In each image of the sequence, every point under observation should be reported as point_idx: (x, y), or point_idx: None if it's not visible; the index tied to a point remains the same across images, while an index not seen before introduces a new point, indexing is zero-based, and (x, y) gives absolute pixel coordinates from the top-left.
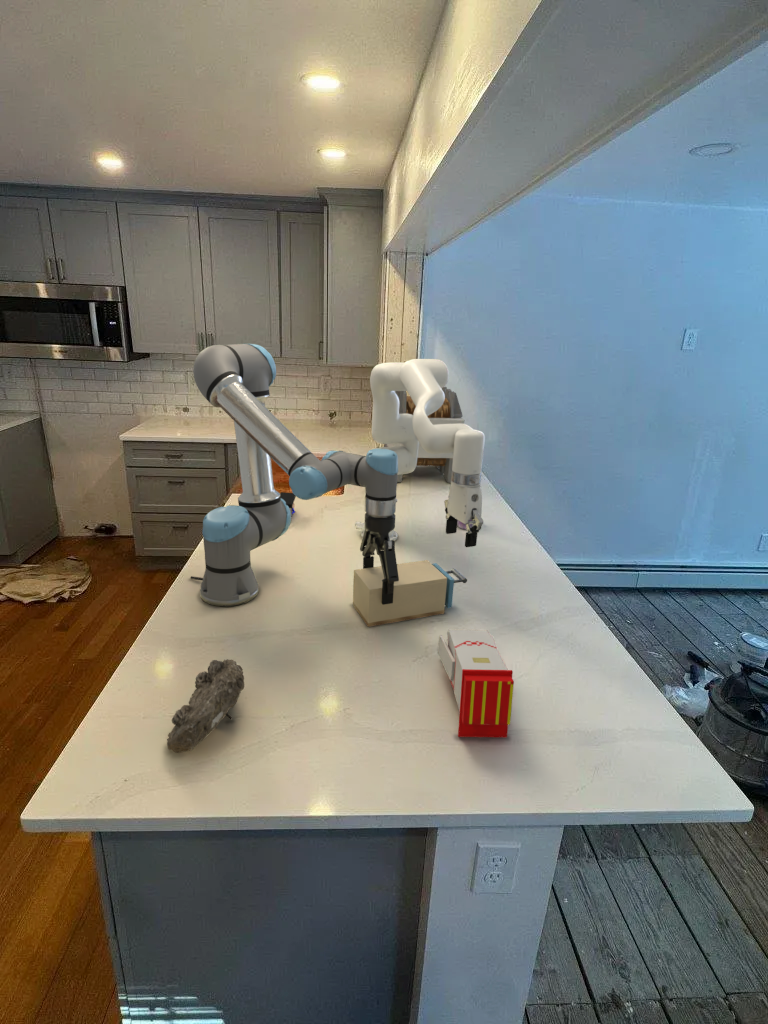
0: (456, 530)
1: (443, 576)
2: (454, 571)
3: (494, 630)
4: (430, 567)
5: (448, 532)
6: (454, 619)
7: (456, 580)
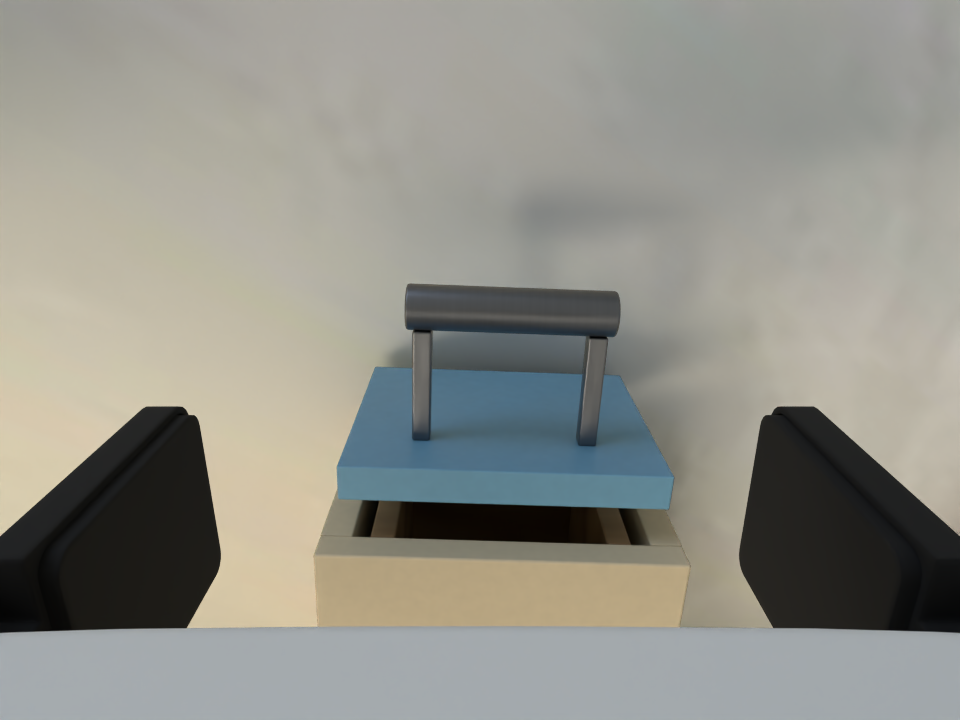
0: (181, 433)
1: (655, 579)
2: (453, 328)
3: (919, 245)
4: (463, 595)
5: (211, 561)
6: (702, 396)
7: (595, 388)
